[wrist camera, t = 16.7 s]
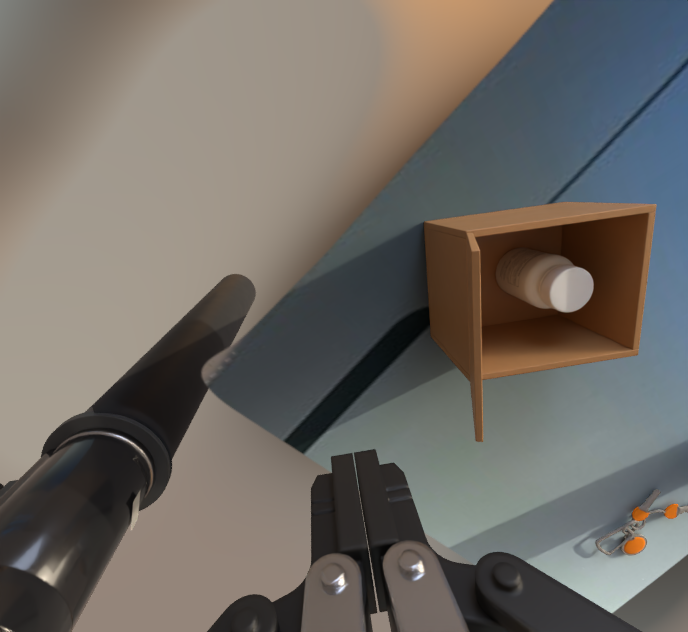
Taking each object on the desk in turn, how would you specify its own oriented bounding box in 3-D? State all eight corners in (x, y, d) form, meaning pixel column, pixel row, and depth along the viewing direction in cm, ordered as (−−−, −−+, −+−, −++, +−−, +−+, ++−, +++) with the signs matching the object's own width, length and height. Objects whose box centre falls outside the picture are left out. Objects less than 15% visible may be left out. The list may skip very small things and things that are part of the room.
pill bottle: (547, 276, 36) (609, 297, 28) (507, 302, 36) (557, 329, 29) (527, 237, 34) (587, 248, 27) (486, 265, 35) (533, 283, 27)
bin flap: (476, 386, 27) (470, 386, 27) (473, 232, 24) (466, 233, 24) (483, 442, 22) (475, 441, 22) (480, 250, 18) (471, 250, 18)
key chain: (616, 566, 49) (621, 572, 48) (586, 537, 47) (591, 542, 46) (701, 505, 47) (708, 511, 46) (674, 472, 45) (680, 477, 44)
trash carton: (430, 336, 37) (469, 382, 28) (423, 221, 34) (465, 231, 25) (559, 317, 38) (638, 355, 29) (565, 201, 34) (657, 204, 25)
